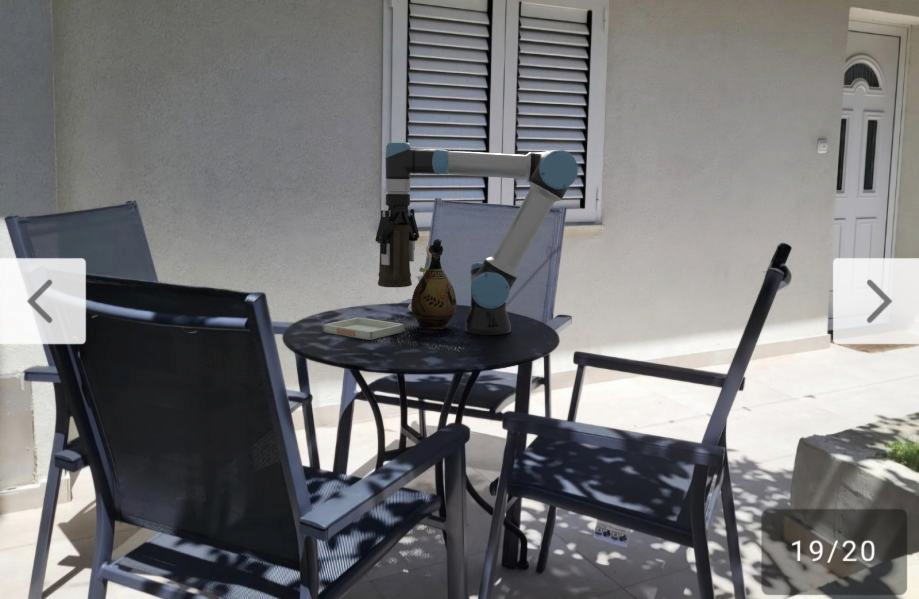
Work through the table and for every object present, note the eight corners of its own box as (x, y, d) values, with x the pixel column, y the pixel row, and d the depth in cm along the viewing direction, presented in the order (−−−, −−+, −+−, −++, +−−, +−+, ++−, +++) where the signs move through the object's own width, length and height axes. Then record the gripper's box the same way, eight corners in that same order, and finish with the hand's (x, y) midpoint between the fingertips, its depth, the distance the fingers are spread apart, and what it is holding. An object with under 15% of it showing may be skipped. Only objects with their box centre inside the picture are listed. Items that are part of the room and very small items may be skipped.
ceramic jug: (456, 331, 282) (456, 241, 277) (410, 331, 281) (409, 241, 277) (456, 322, 298) (456, 237, 294) (412, 322, 298) (412, 237, 293)
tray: (358, 324, 294) (358, 317, 293) (404, 331, 281) (404, 324, 281) (322, 332, 280) (322, 324, 279) (369, 340, 268) (369, 332, 267)
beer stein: (374, 283, 272) (374, 221, 268) (406, 282, 276) (407, 220, 271) (384, 293, 258) (385, 227, 254) (418, 291, 261) (420, 227, 257)
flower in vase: (424, 316, 310) (424, 248, 306) (401, 312, 317) (401, 246, 313) (446, 311, 321) (447, 245, 317) (423, 308, 327) (423, 243, 323)
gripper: (412, 191, 274) (411, 258, 278) (363, 193, 255) (363, 265, 258) (430, 192, 270) (430, 260, 273) (382, 194, 251) (382, 267, 254)
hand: (398, 263), depth 266 cm, fingers closed on beer stein, 11 cm apart
